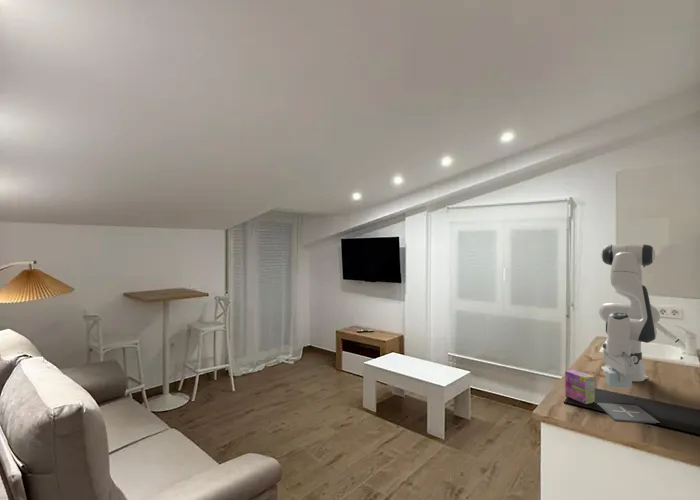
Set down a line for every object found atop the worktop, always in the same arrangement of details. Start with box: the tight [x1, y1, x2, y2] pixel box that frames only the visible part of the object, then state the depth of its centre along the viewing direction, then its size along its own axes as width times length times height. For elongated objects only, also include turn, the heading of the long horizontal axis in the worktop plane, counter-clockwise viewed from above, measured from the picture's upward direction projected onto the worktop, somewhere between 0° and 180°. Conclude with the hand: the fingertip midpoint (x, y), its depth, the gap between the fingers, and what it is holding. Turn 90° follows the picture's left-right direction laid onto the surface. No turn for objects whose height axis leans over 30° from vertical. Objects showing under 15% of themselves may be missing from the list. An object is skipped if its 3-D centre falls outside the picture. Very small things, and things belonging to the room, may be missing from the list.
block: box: [604, 370, 633, 388], centre depth 174 cm, size 4×9×6 cm, turn 80°
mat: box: [595, 402, 661, 424], centre depth 160 cm, size 16×16×1 cm
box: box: [564, 369, 596, 405], centre depth 174 cm, size 10×6×12 cm, turn 21°
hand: (618, 379), depth 174 cm, fingers closed on block, 4 cm apart
